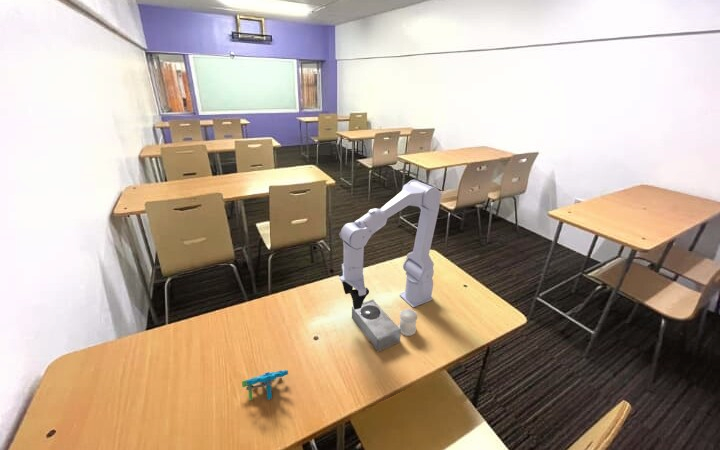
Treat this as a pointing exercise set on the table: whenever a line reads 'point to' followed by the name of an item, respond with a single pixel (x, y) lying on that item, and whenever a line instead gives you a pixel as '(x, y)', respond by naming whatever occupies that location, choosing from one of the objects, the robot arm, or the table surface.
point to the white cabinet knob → (408, 322)
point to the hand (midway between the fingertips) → (352, 300)
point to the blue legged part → (263, 378)
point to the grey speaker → (376, 325)
